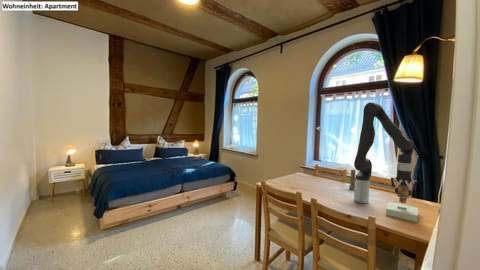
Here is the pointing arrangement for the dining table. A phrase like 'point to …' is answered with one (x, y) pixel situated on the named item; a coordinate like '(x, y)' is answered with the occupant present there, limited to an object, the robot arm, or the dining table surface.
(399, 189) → the peg
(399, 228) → the dining table surface
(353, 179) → the wooden block
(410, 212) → the socket block
